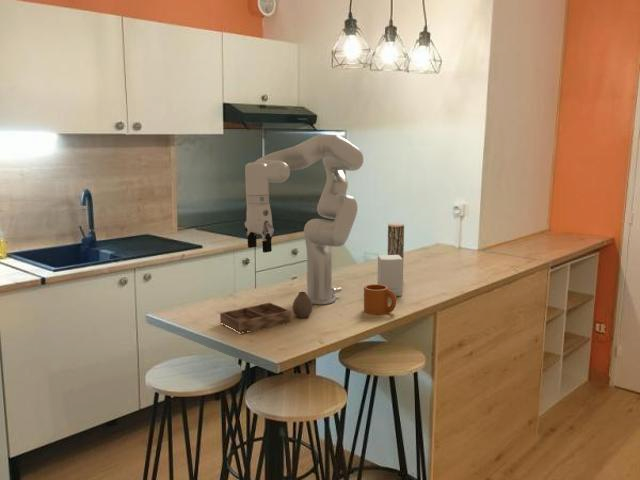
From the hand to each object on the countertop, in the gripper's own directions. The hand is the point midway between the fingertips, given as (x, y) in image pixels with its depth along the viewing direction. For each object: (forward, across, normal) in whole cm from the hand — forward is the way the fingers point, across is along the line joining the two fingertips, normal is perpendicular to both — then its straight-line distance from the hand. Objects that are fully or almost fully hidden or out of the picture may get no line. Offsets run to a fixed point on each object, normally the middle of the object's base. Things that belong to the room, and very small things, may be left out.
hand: (259, 249), depth 208 cm
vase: (+26, -6, -13) cm, 29 cm away
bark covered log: (+27, +10, -73) cm, 78 cm away
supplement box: (+26, -2, -58) cm, 64 cm away
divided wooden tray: (+25, -2, +4) cm, 25 cm away
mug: (+26, -18, -39) cm, 50 cm away
